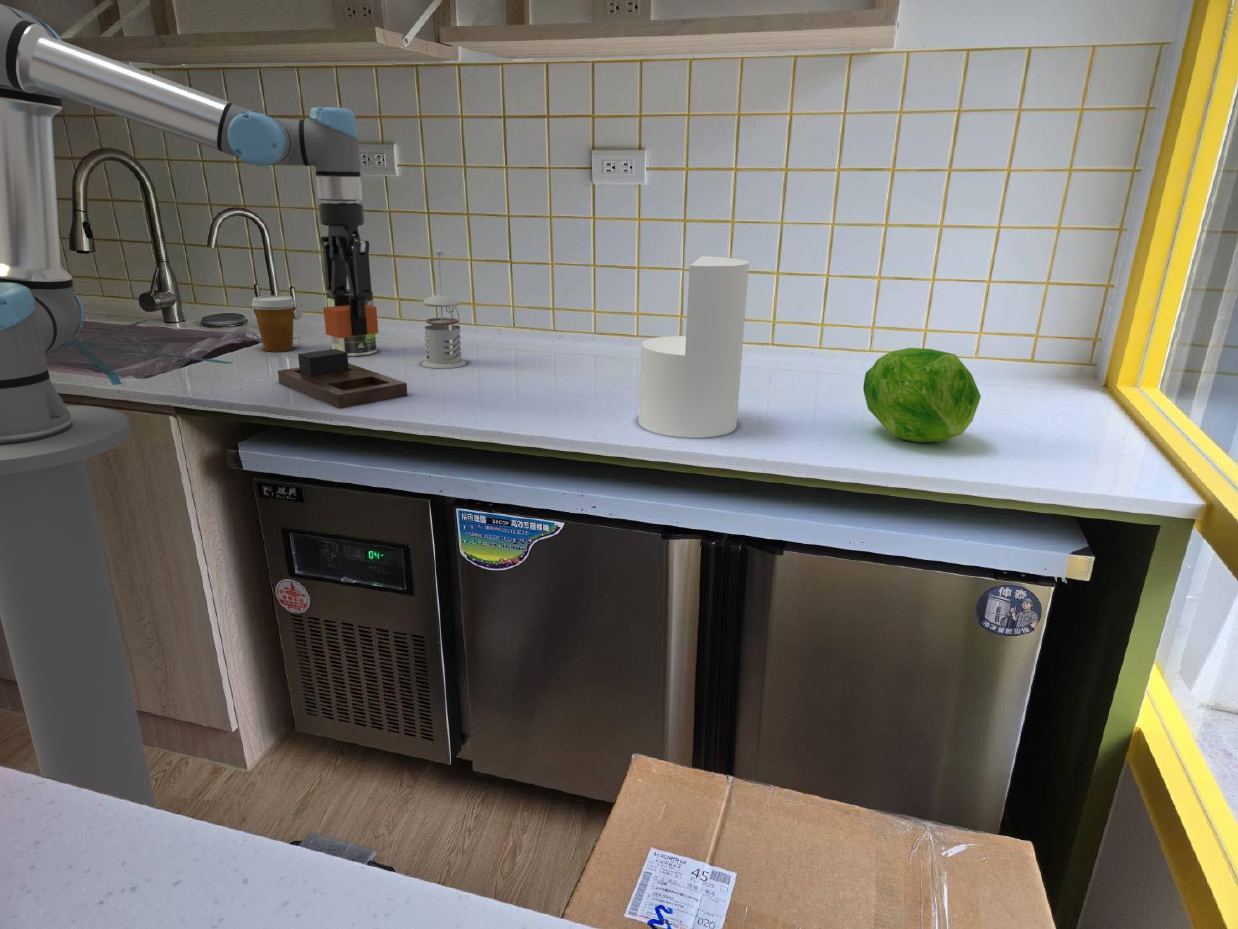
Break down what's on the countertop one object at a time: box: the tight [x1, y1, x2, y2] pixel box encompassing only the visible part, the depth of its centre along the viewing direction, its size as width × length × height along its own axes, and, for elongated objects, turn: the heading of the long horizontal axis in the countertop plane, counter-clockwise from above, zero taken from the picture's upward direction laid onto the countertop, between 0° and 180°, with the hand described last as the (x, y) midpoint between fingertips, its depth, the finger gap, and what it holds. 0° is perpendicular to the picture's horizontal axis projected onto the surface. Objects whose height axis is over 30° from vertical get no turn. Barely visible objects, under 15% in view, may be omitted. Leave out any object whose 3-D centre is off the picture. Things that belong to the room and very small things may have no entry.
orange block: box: [322, 304, 379, 338], centre depth 153 cm, size 8×5×5 cm, turn 136°
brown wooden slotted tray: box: [277, 362, 408, 409], centre depth 160 cm, size 14×25×2 cm, turn 45°
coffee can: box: [325, 288, 378, 357], centre depth 191 cm, size 10×10×14 cm
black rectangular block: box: [297, 348, 349, 377], centre depth 164 cm, size 8×5×5 cm, turn 135°
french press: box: [421, 248, 467, 369], centre depth 181 cm, size 10×12×25 cm
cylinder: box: [638, 255, 750, 439], centre depth 140 cm, size 17×17×28 cm
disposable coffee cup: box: [250, 295, 296, 353], centre depth 193 cm, size 10×10×12 cm
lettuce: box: [862, 347, 982, 443], centre depth 137 cm, size 17×20×17 cm
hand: (352, 332), depth 153 cm, fingers closed on orange block, 5 cm apart
